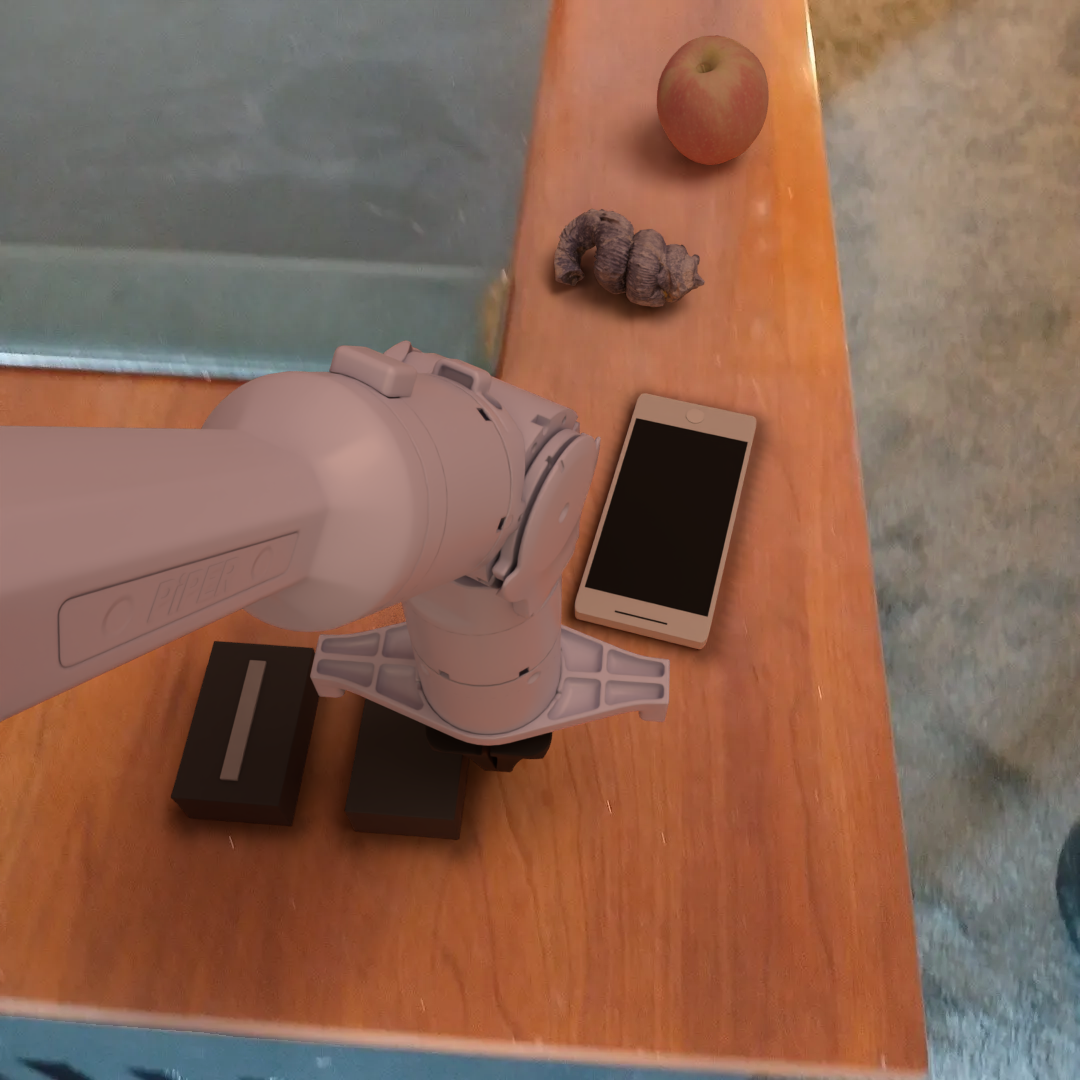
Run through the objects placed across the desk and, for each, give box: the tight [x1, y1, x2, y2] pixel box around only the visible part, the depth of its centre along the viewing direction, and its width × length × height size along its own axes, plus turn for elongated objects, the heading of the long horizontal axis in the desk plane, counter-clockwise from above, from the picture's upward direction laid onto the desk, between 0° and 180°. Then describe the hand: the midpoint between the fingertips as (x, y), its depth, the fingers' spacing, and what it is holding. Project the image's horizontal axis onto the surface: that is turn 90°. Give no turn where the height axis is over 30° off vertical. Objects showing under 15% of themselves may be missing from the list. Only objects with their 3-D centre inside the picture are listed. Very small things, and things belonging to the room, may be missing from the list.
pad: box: [344, 698, 470, 840], centre depth 51 cm, size 8×5×3 cm, turn 175°
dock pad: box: [170, 640, 320, 827], centre depth 51 cm, size 8×5×3 cm, turn 175°
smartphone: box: [574, 392, 757, 650], centre depth 59 cm, size 7×15×1 cm, turn 164°
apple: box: [656, 34, 770, 166], centre depth 73 cm, size 8×8×8 cm
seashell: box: [553, 208, 706, 308], centre depth 67 cm, size 5×5×10 cm
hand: (500, 751), depth 51 cm, fingers closed
